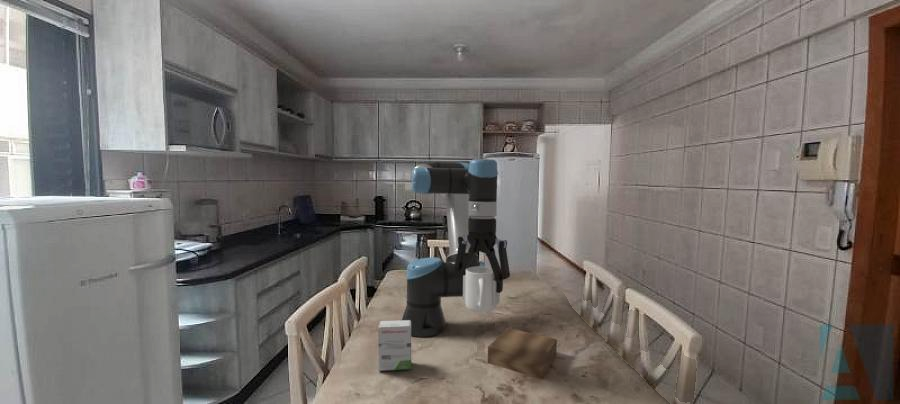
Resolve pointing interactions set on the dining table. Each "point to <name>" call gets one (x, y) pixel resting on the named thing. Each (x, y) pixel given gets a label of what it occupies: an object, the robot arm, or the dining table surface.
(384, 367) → the ink box
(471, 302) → the mug
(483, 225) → the robot arm
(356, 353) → the dining table surface
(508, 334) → the walnut block
